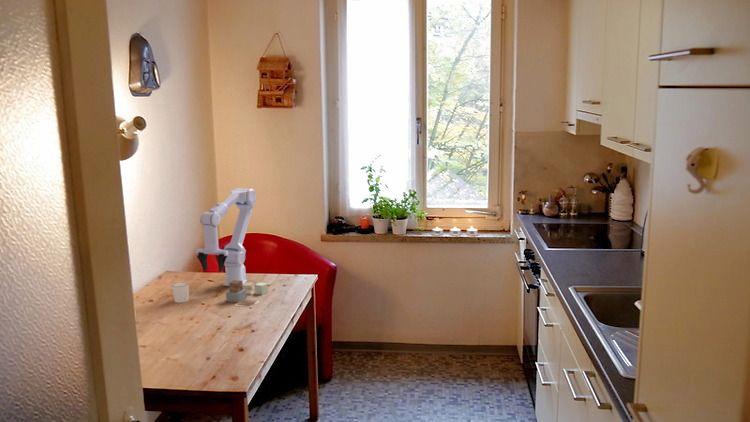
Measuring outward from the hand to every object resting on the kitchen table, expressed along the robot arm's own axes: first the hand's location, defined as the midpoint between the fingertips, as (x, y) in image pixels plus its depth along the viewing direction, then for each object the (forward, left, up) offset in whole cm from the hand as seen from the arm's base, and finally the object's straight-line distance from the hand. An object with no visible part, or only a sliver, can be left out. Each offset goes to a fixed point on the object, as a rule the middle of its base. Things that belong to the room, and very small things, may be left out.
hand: (213, 270), depth 287 cm
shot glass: (+13, -8, -10) cm, 18 cm away
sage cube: (-5, +20, -10) cm, 23 cm away
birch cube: (-4, +14, -10) cm, 18 cm away
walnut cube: (+6, +14, -6) cm, 16 cm away
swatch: (+10, +21, -10) cm, 25 cm away
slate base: (+6, +14, -10) cm, 18 cm away
